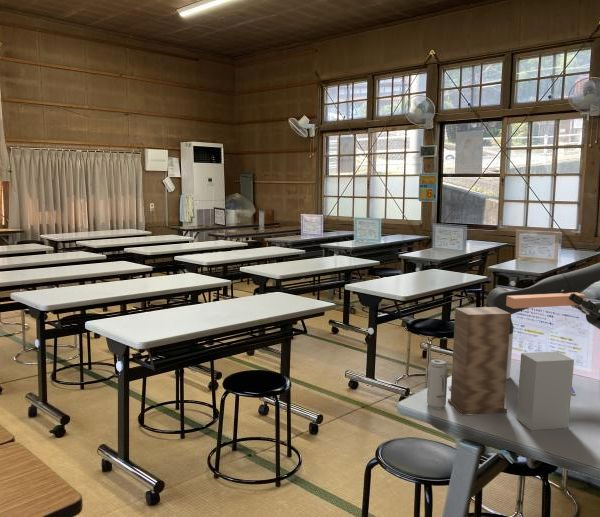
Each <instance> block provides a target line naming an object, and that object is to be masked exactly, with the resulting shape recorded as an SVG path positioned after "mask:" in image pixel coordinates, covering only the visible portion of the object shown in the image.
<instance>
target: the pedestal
mask: <svg viewBox="0 0 600 517" xmlns="http://www.w3.org/2000/svg"><path fill="white" fill-rule="evenodd" d="M510 317H511V318H512V314H511V313H508V312H506V311H504V310H502V309H499V308H497V307H486V306H481V307H455V310H454V326H453V328H454V330H453V331H454V332H453V348H452V364H451V365H452V367H451V383H450V385H451V390H450V398H447V403H448V404H449V405H450V406H453V407H454V408H453V407H452V408H453V409H454V410H455V411H456V412H458V413H459V414H460V415H461V414H462V415H461V416H468V415H467V414H473V415H486V414H488V413H489V414H501V413H502V414H504V413H503V412H505V413H507V412H508V408H507V407H505V402H506V388H507V379H506V375H507V360H508V346H509V331H510Z"/></svg>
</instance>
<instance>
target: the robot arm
mask: <svg viewBox="0 0 600 517" xmlns="http://www.w3.org/2000/svg"><path fill="white" fill-rule="evenodd" d="M598 282H600V262H597V263H595V264H592V265H589V266H586V267H583V268H579V269H576V270H575V269H574V270H572V271H569V272H564V273H560V274H556V275H552V276H549V277H546V278H544V279H541V280H539V281H538V282H537V283H535V284H533V285H531V286H529V287H525V288H521V289H520V288H519V289H517V290H508V289H506V288H503V287H495V288H493V289H492V290H491V291H489V292H488V295H487V298H486V306H485V307H497V308H499V309H502V310H504V311H506V312H508V313H511V315H514V314H517V313H518V312H522V311H524V310H528V309H529V308H515V309H514V308H511V307H509V306H506V300H507V296H514V295H535V294H556V293H571V295H570V297H569V299H570V300H571V301H573V302H574V303H576V304H578V305H571V306H570V307H572V308H573V309H576V310H578V311H579V313H581V314H583V315H585V319H586V321H587V323H589V324H591V325H592V326H593V327H595V328H597V329H598V330H600V301H598V302H592V301H591V300H588V299H583V298H581V297H579V296H578V295H576V294H574V293H580V294H582V293H583V292H584V291H585V290H587V289H588V288H589V287H590V286H591V287H592V285H594V284H595V283H598ZM513 338H514V324H513V321H512V316H511V317H510V331H509V346H508V360H507V375H506V380H509V379H510V377H511V368H512V354H513V341H514V340H513Z"/></svg>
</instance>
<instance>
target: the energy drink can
mask: <svg viewBox="0 0 600 517" xmlns="http://www.w3.org/2000/svg"><path fill="white" fill-rule="evenodd" d="M448 368H449V366H448V365H447V362H446V360H443V359H440V358H438V359H437V358H435V359H430V362H429V364H428V369H427V370H428V372H427V387H426V388H427V389H426V403H427V405H428V407H429V408H431V409H433V410H441V409H444V408H445V406H446V404H447V389H448V370H449V369H448Z"/></svg>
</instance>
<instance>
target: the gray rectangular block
mask: <svg viewBox="0 0 600 517" xmlns="http://www.w3.org/2000/svg"><path fill="white" fill-rule="evenodd" d="M574 364H575V359H573V358H571V357H569V356H567V355H565V354H563V353H561V352H559V351H538V352H521V353H520V363H519V366H520V367H519V376H518V377H519V380H518V393H517V408H516V420H517V421H519V422H520V423H521V424H523V425H524V426H525V427H526V428H528V429H530V431H541V430H553V429H568V428H569V424H570V422H569V421H570V411H571V410H570V409H571V402H572V395H571V390H572V387H573V376H574Z"/></svg>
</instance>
